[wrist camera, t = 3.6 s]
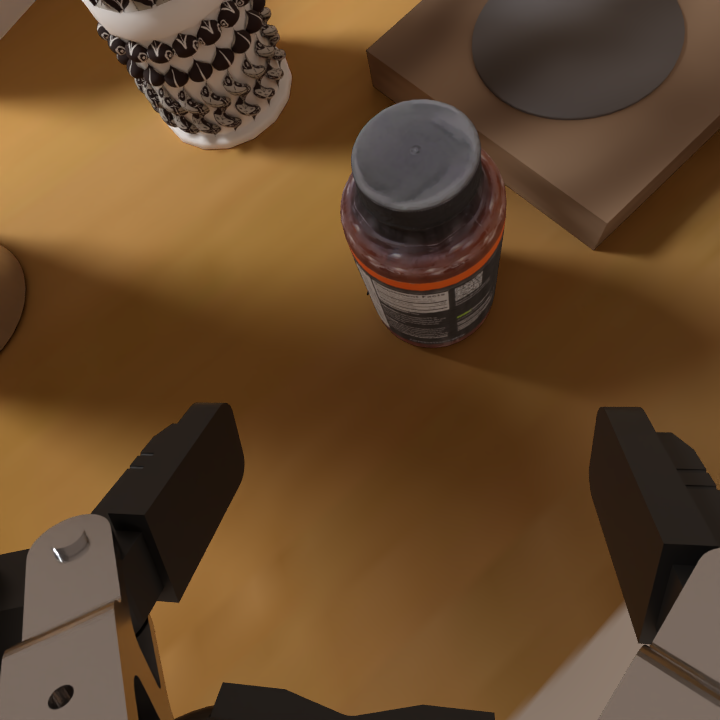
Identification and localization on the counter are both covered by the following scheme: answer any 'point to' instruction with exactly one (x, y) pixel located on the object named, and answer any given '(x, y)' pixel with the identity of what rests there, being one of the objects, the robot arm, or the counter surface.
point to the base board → (567, 93)
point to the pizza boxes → (12, 13)
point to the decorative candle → (201, 64)
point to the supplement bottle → (425, 221)
